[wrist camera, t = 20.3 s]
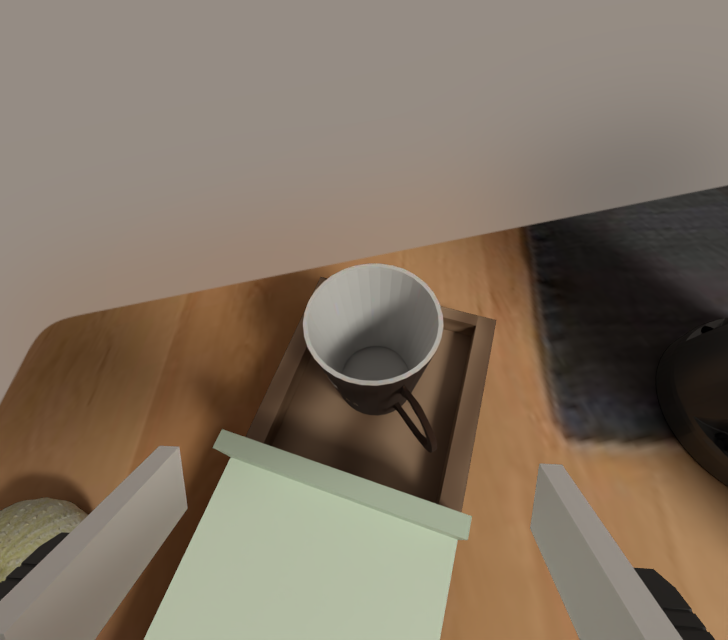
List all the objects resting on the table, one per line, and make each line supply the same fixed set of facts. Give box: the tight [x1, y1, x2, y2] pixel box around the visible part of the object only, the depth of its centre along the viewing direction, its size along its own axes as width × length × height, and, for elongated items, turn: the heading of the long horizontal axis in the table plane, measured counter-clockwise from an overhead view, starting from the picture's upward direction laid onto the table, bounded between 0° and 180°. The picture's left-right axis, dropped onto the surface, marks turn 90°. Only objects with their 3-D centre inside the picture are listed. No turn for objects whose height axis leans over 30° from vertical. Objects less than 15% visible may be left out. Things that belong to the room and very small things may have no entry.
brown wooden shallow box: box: [246, 277, 496, 512], centre depth 28 cm, size 16×30×4 cm, turn 162°
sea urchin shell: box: [0, 497, 88, 582], centre depth 26 cm, size 9×8×8 cm
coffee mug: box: [303, 264, 444, 453], centre depth 27 cm, size 12×9×10 cm
